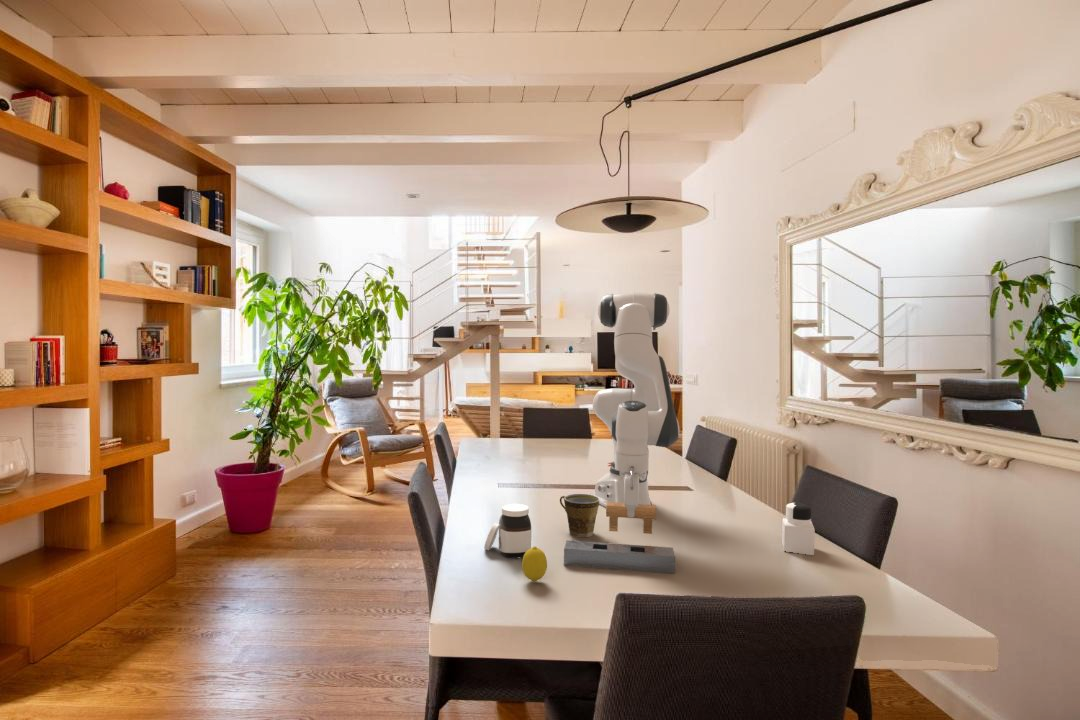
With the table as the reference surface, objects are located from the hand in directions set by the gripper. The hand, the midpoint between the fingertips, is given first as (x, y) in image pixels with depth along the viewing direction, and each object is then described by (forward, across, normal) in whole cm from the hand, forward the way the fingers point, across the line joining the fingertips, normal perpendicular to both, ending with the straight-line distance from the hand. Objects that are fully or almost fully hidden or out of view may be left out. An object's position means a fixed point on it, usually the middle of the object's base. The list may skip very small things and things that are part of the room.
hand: (630, 513), depth 151 cm
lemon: (+8, -29, +21) cm, 37 cm away
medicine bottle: (+9, +5, -44) cm, 45 cm away
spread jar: (+8, -12, +31) cm, 35 cm away
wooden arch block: (+5, 0, 0) cm, 5 cm away
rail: (+8, -15, +3) cm, 17 cm away
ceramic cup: (+9, +7, +15) cm, 18 cm away
